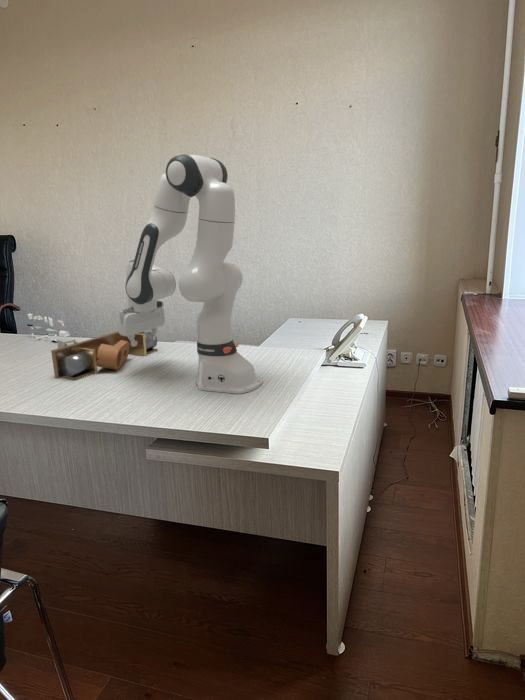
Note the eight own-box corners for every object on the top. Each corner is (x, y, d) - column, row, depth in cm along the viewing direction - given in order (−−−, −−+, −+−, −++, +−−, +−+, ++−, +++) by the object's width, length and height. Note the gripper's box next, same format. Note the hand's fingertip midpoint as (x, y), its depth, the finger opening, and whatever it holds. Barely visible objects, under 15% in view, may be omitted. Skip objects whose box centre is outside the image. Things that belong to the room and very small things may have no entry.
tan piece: (117, 350, 187) (97, 346, 187) (114, 372, 189) (95, 368, 188) (130, 339, 204) (112, 336, 204) (127, 359, 206) (110, 356, 206)
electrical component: (95, 358, 210) (93, 346, 208) (80, 361, 206) (79, 349, 204) (69, 347, 227) (68, 336, 225) (55, 350, 223) (54, 339, 221)
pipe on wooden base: (161, 350, 217) (159, 327, 215) (75, 382, 181) (71, 353, 178) (142, 348, 222) (140, 324, 220) (55, 377, 186) (51, 350, 184)
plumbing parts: (34, 336, 250) (30, 310, 247) (78, 346, 230) (74, 318, 227) (21, 339, 246) (17, 313, 242) (65, 349, 225) (61, 321, 222)
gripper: (126, 311, 177) (129, 351, 180) (166, 301, 194) (168, 337, 197) (112, 309, 180) (115, 348, 184) (153, 299, 197) (155, 335, 200)
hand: (143, 343), depth 191 cm, fingers open, 8 cm apart
